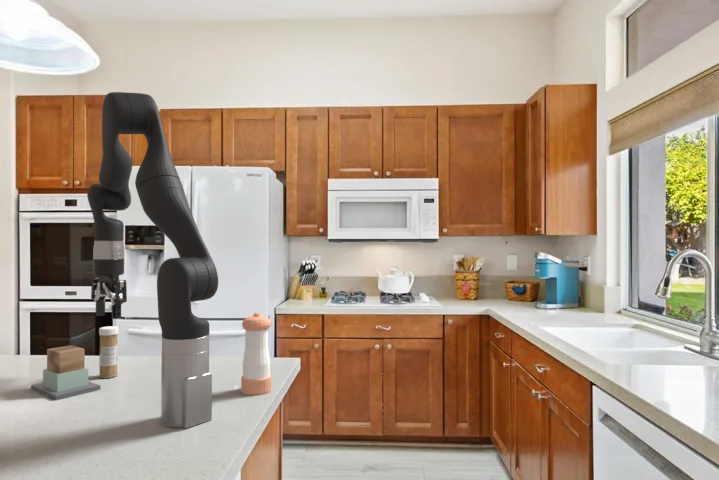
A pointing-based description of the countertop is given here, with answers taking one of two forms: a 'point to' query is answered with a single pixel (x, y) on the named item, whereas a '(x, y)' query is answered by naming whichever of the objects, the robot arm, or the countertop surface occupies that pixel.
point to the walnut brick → (65, 359)
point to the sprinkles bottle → (108, 351)
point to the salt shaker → (256, 356)
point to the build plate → (66, 392)
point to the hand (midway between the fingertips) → (108, 317)
